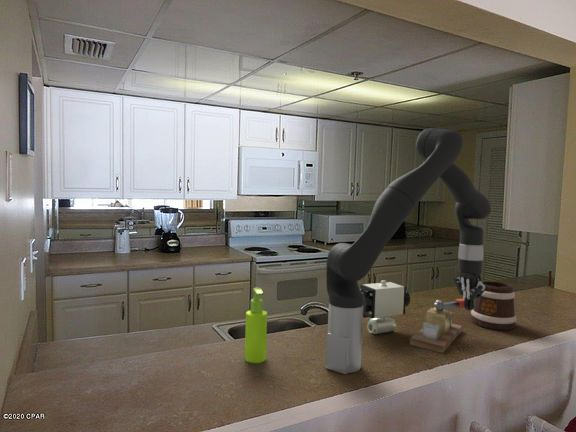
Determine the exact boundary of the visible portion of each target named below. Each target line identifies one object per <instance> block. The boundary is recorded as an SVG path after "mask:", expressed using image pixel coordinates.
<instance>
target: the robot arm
mask: <svg viewBox="0 0 576 432" xmlns="http://www.w3.org/2000/svg"><path fill="white" fill-rule="evenodd" d="M415 143H416V144H415V145H416V151H417V154H418V155H419V157H420V158H421V159H422V160H423V163H422V164H421V165H419V166H418V167H416V168H414V169H411V171H409V172H406V173H405V174H403V175H401V176H400V177H398V178H396V179H395V180H393V181H392V182H390V183H389V184H388V186H387V187H386V188H385V189H384V191H383V192H382V193H381V194H380V196H379V197H378V198H377V200H376V201H375V202H374V206H373V208H372V211H371V214H370V218H369V221H368V224H367V226H366V227H365V229H364V231H363V232H362V233H361V234H360V236H358V238H357V239H356V240H355V241H354V242H353V243H352V244H351V243H346V242H339V243H336V244H335V245H334V246H332V247H331V248H330V250H329V251H328V255H327V258H326V291H327V295H328V313H327V314H328V317H327V333H326V341H325V343H326V346H325V369H328V370H330V371H333V372H337V373H340V374H343V375H347V374H350V373H351V374H352V373H356V372H358V371H360V370H361V365H362V346H363V345H362V344H363V342H362V341H363V323H364V322H363V319H364V314H363V302H364V297H363V294H362V292H361V290H360V286H359V283H358V281H360V280H362V279H363V278H365V276H367V275H368V274H369V272H370V271H371V270H372V267H373V266H374V264H375V263H376V261H377V260H378V258H379V256H380V255H381V253H382V251H383V250H384V248H385V247H386V246H387V243H388V242H389V241H390V240H391V239H392V238H393V236H394V235H395V234H396V232H397V231H398V229H399V228H400V227H401V225H402V224H403V223H404V222H405V220H407V218H408V217H409V216H410V214H411V213H412V212H413V211H414V209H415V207H417V205H418V203H419V202H420V201H421V200H422V199H423V197H424V196H425V194H426V193H427V192H428V191H429V190H430V189H431V187H432V186H433V185H434V184H435V183H436V181H437V180H438V179H440V180H441V181H442V182H443V184H444V185H445V187H446V188H447V190H448V192H449V194H450V195H451V196H452V198H453V200H454V201H455V204H454V205H455V206H454V211H455V216H456V218H457V222H458V223H457V224H458V228H459V245H458V246H459V247H458V253H457V254H458V255H457V257H458V260H457V270H458V272H459V273H458V277H457V278H453V282H454V284H455V287H456V289H457V290H458V293H459V295H460V296H462V297H464V307H465V308H464V309H465V310H466V311H470V310H473V308H474V302H475V298H479V297H480V296H481V295H482V294H483V292H484V291H485V290H486V289H487V286H486V285H483V283H482V282H483V281H482V275H481V274H482V273H483V271H484V229H483V228H482V227H481V226H478V225H474V224H472V223H471V221H470V220H473V219H474V220H484V219H486V218H488V217H489V215H490V214H491V211H492V210H491V209H492V207H491V203H490V201H489V200H488V198H487V197H486V196H485V195H484V194H483V193H482V192H481V191H480V190H478V189H477V188H475V185H474V184H473V181H472V179H471V178H470V176H469V175H468V173H466V172H465V171H464V170H463V169H462V168H460V167H459V166H458V165H457V164H456V163H455V161H456V160H457V159H458V157H459V155H460V154H461V152H462V150H463V146H464V138H463V135H462V134H461V133H459V132H458V131H456V130H452V129H451V130H450V129H444V128H436V127H435V128H434V127H430V128H425V129H423V130H422V131H421V132H420V133H419V134H418V137H417V139H416V142H415Z"/></svg>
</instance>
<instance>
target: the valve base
mask: <svg viewBox="0 0 576 432" xmlns="http://www.w3.org/2000/svg"><path fill="white" fill-rule="evenodd" d="M462 330H463V326H462V325H460V324H456V323H455V324H454V323H452V324H451V327H449V332H448V333H447V334H446V335H445V336H440V337H439V338H438V341H433V340H429V339H425V338H422V332H423V327H422V328H421V329H420V330H418V331H417V332H415V333H414V334H413V335H412V336H411V337H410V338H409V346H413V347H418V348H420V349H421V348H422V349H425V350H430V351H434V352H438V353H442V354H444V352H445V351H446V350H447V349H448V348H449V346H450V345H451V344H452V343H453V342H454V341H455V340H456V338H457V337H458V336H459V335H460V334H461V333H462V332H463V331H462Z"/></svg>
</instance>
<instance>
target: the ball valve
mask: <svg viewBox="0 0 576 432" xmlns="http://www.w3.org/2000/svg"><path fill="white" fill-rule="evenodd" d="M359 285H360V286H359V289H360V290H361V292H362V294H363V297H364V302H363V316H366V317H368V318H369V321H367V324H366V328H367V331H368V332H369V333H371V334H375V335H377V334H382V333H390V332H392V331H395V329H396V327H397V324H396V321H395V319H393V318H392V317H393V316H394V317H395V316H402V315H406V310H407V307H408V306H409V305H410V303H411V295H410V292H409V290H408V289H407V286H406V285H403V284H399V283H397V282H395V281H389V282H388V281H387V280H385V279H384V280H381V281H380V282H376V283H366V284H364V283H363V284H359Z"/></svg>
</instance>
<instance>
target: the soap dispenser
mask: <svg viewBox="0 0 576 432" xmlns="http://www.w3.org/2000/svg"><path fill="white" fill-rule="evenodd" d="M252 291H253V298H252V299H250V310H247V311H246V312H245V335H244V337H245V338H244V344H245V345H244V360H245V361H246V362H247V363H250V364H251V363H252V364H260V363H263V362H265V361H266V359H267V337H268V336H267V334H268V333H267V328H268V311H266V310H264V306H263V305H264V300H263V299H262V298H261V295H264V292H263V291H264V290H263V289H262V288H261V287H252Z"/></svg>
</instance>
